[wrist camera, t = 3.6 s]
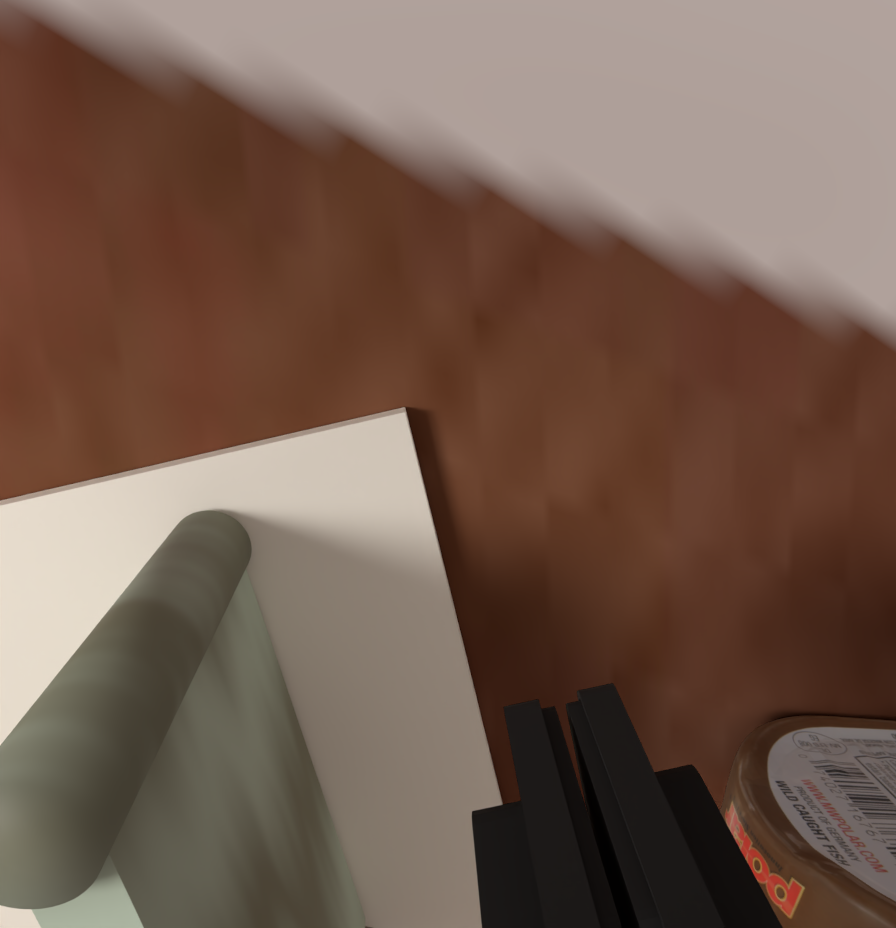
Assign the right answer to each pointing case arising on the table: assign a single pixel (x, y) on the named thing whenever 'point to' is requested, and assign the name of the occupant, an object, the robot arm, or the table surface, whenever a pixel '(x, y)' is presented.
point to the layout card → (295, 635)
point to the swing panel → (172, 765)
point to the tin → (819, 819)
